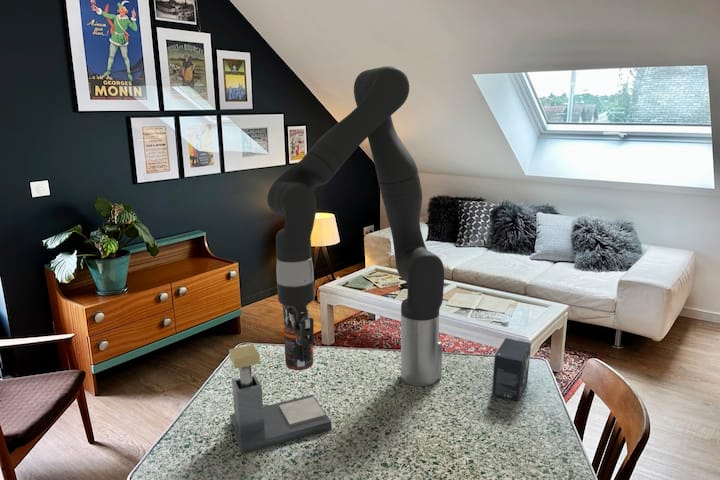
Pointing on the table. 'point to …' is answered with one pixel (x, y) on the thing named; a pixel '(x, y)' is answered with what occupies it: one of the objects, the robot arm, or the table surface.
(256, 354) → the plunger
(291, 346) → the supplement bottle
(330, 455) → the table surface
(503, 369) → the box
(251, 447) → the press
